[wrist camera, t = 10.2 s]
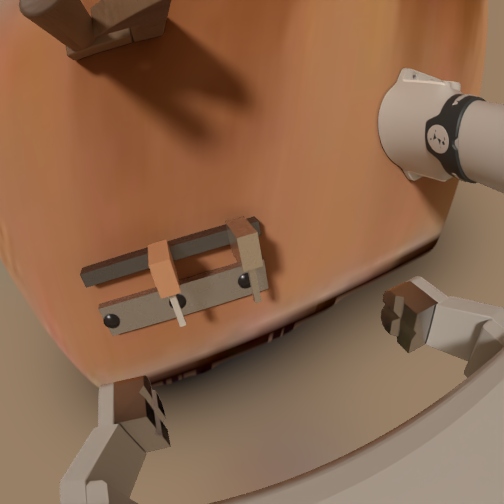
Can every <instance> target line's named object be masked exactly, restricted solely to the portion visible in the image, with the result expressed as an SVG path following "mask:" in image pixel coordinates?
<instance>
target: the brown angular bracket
mask: <svg viewBox="0 0 504 504" xmlns="http://www.w3.org/2000/svg"><path fill="white" fill-rule="evenodd" d="M170 3H171V0H101V1H100V2H98V3H97V4H95V5H94V6H93V7H91V16H92V18H91V17H90V15H89V14H88V12H87V10H86V9H85V7H84V6H83V4H82V2H81V1H80V0H20V2H19V7H20V11H21V13H22V14H23V15H24V16H25V17H27V18H28V19H30V20H31V21H32V22H34V23H35V24H37V25H38V26H40V27H41V28H42V29H44V30H45V31H47V32H48V33H49V34H51V35H52V36H53V37H55V38H56V39H58V40H59V41H60V42H62V43H63V44H64V45H66V51H67V56H68V57H70V58H71V59H73V60H79V59H81V58H84V57H87V56H90V55H93V54H96V53H99V52H102V51H105V50H109V49H112V48H115V47H119V46H122V45H126V44H129V43H132V42H133V41H134V42H137V41H141V40H145V39H150V38H154V37H158V36H162V35H163V34H164V29H165V24H166V20H167V16H168V12H169V7H170Z"/></svg>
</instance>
